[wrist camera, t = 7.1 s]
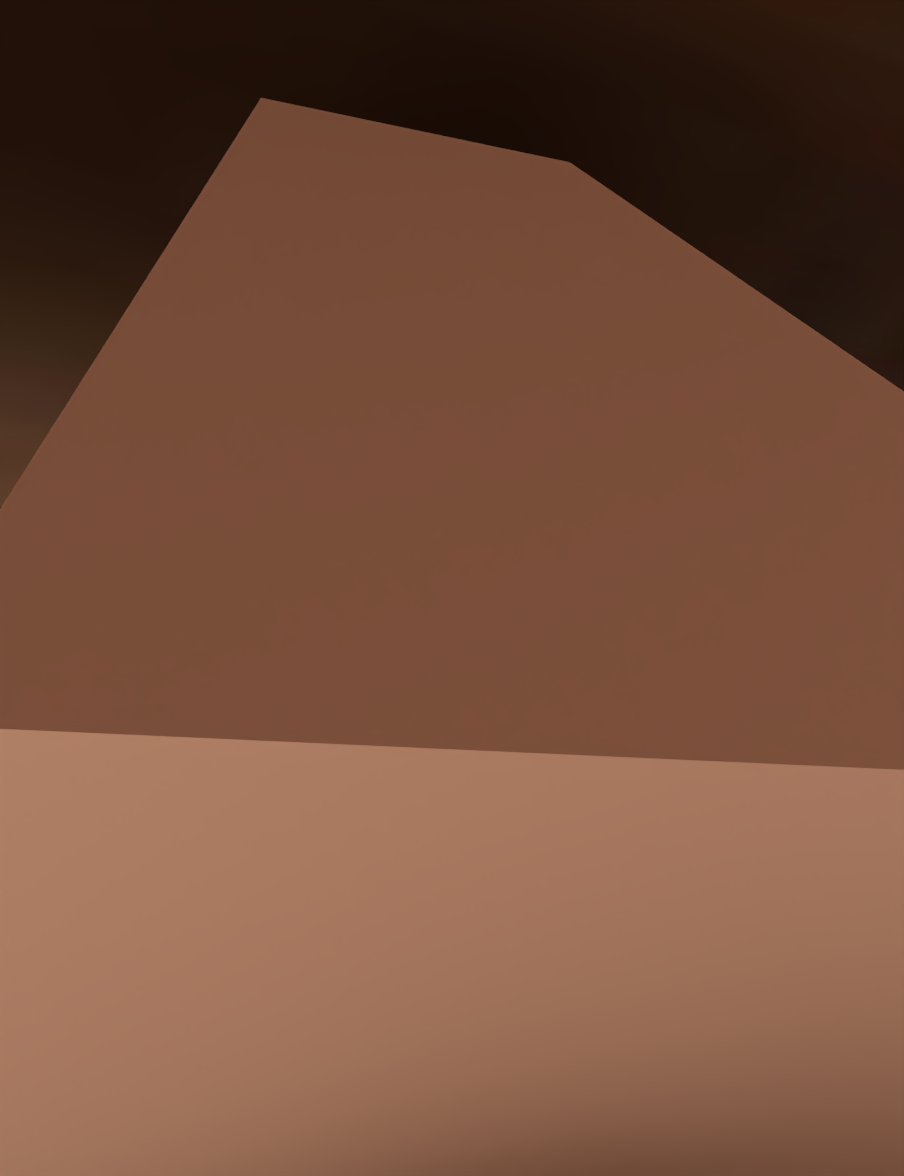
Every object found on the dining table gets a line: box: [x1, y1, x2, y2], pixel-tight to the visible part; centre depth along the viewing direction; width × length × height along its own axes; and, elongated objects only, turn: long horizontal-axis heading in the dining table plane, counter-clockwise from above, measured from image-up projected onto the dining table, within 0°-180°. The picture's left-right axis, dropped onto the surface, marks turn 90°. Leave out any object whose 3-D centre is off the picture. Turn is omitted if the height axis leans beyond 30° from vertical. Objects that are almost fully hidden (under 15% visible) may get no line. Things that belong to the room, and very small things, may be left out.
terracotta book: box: [0, 98, 904, 1176], centre depth 10 cm, size 11×4×12 cm, turn 169°
